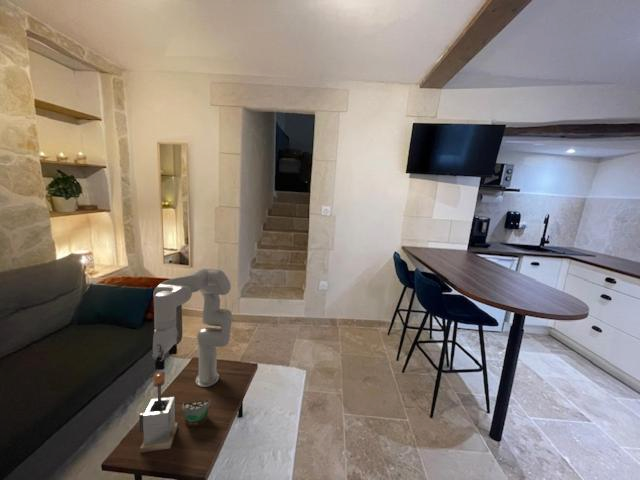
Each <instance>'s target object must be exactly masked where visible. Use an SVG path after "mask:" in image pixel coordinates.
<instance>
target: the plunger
mask: <svg viewBox="0 0 640 480" xmlns="http://www.w3.org/2000/svg"><path fill="white" fill-rule="evenodd" d="M165 377H166V376H165V372H164V371H158V372H156V373H154V374H153V387H156V388H157V398H158V411H161V398H162V386H163V385H165V382H166V378H165ZM162 411H165V410H162ZM155 412H156V411H155Z"/></svg>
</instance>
